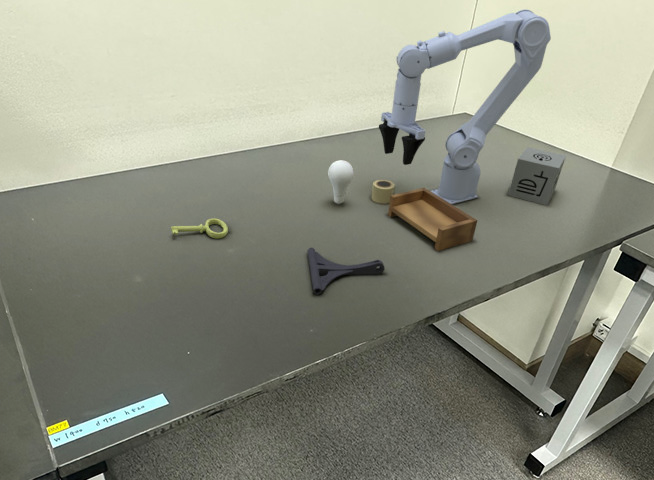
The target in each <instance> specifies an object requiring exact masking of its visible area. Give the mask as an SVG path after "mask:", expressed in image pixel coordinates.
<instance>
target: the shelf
mask: <svg viewBox="0 0 654 480" xmlns="http://www.w3.org/2000/svg"><path fill="white" fill-rule="evenodd" d="M431 191H432V190H429V189H427V188H426V187H421V188H417V189H412V190H407V191H403V192H400V193H394V194H393V195H391V196H390V203H388V204H389V205H388V211H387V216H388V217H390V218H393V217H397V216H398V217H399V218H401V219H402V220H403V221H405V222H406V223H408V224H409V225H411V226H412V227H413V228H414V229H416V230H418V231H419V232H420V233H422V234H423V235H425V236H426V237H427V238H429V239H430V240H432V241H433V242H434V243H435V244H434V250H436V252H440V251H443V250H446V249H450V248H453V247H457V246H460V245H463V244H467V243H470V242H473V241H474V237H475V233H476V229H477V224H478V219H477V218H475V217H474V216H471V215H470V214H468V213H466V212H465V211H463V210H462V209H460V208H458V207H457V206H455V205H454V204H450V203H449V202H447V201H445V200H444V199H442V198H440V197H439V196H437V195H435V194H434V193H432V192H431Z"/></svg>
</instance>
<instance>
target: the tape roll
mask: <svg viewBox="0 0 654 480" xmlns="http://www.w3.org/2000/svg"><path fill="white" fill-rule="evenodd" d="M395 187H396V186H395V183H394V182H393V181H390V180H387V179H377V180H374V181H373V183H372V188H371V197H370V199H371V200H372V201H373V202H375V203H377V204H382V205H384V204H389V203H390V196H391V195H395Z"/></svg>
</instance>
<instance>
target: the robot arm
mask: <svg viewBox="0 0 654 480" xmlns="http://www.w3.org/2000/svg"><path fill="white" fill-rule="evenodd" d="M437 33H438V35H437V36H435V37H431V38H429V39H427V40H424V41H423V40H422V39H420V40H418V41H416V44H407V45H405V46H403V47H402V48H401V50H399V52H398V54H397V56H396V64H397V67H398V69H397V72H396V80H395V84H394V92H393V99H392V100H393V101H392V108H391V112H389V111H385V112H381V115H380V121H381V122H383V123H380V124H378V129H379V132H380V134H381V138H382V143H383V150H384V154H386V155H388V154H389V155H390V154H393V153H394V151H395V146H396V140H397V137H398V134H399V131H400V130H401V131H403V132H404V133H407V134H408V135H403V136H401V141H402V142H401V143H402V147H403V154H402V165H404V166H407V165H412V163H413V161H414V158H415V156H416V154H417V152H418V150H419V149H420V147H421V146H422V144H423V143H424V142H425V140H426V137H425V136H426V129H424V128H422V127H421V125H419V124H418V122H416V117H417V112H418V105H419V99H420V92H421V86H422V82H421V80H422V74H424V72H425V71H426V69H427V70H431V69H432V68H435V67H438V66H440V65H443V64H446V63H450V62H452V61H454V60H457V58H458V57H459V55H460V54H461V52H462V51H466V50H468V49H471V48H476V47H478V46H481V45H484V44H489V43H490V42H494V41H496V40H497V41H498V40H499V41H503V42H506V43H510V44H512V46H513V50H514V60H515V61H514V63H513V64H512V66H511V67H510V68H509V70H508V71H507V72H506V73H505V74H504V76H503V77H502V79H501V80H500V81H499V83H498V84H497V85H496V86H495V87H494V89H493V90H492V91H491V93H490V94H489V95H488V96H487V98H486V99H485V100H484V101H483V103H482V104H481V105H480V107H479V108H478V109H477V111H476V112H475V113H474V114H473V116H472V117H470V120H469V121H467V122H464V123H462V124H461V126H460V127H459V128H458V129H457V130H454V131H453V132H451V133H450V134H449V135H448V137H447V138H446V140H445V149H446V151H447V154H446V156H445V157H444V159H443V163H442V168H441V174H440V180H439V185H438V188H437V189H433V190H430V191H431V192H432V193H434V194H435V195H437V196H439V197H440V198H442V199H444V200H445V201H447V202H449V203H450V204H452V205H455V204H459V203H462V202H466V201H471V200H474V199H477V198H478V195H477V190H478V185H479V182H480V178H481V166H480V165H479V163H478V162H477V160H478V158H479V154H480V152H481V150H482V149H483V148H484V146H485V143H486V138H487V135H488V134H489V133H490V132H491V131H492V129H493V127H494V126H495V125H497V123H498V122H499V120H500V119H501V118H502V116H504V114H505V113H506V112H507V110H508V109H509V108H510V107H511V105H512V104H513V103H514V102H515V101H516V100H517V98H518V97H519V96H520V95H521V93H522V92H523V91H524V90H525V88H526V87H527V86H528V85H529V83H530V82H531V81H532V80H533V79H534V78H535V76H536V74H537V73H538V72H539V71H540V69H541V68H542V65H543V61H544V58H545V54H546V50H547V47H548V44H549V43H550V41H551V38H552V37H551V29H550V25H549V22H548V20H547V19H546V18H545V17H543V16H540V15H538V14H536V13H534V11H532V10H530V9H520V10H518V11H516V12H510V13H507V14H504V15H502V16H500V17H497V18H495V19H493V20H490V21H488V22H485V23H483V24H481V25H478V26H476V27H473V28H472V29H471V28H470V29H469V30H467V31H465V32H462V33H459V34H455V33H453V32H451V31H448V32H445V30H442V31H439V32H437Z"/></svg>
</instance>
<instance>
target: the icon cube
mask: <svg viewBox="0 0 654 480" xmlns="http://www.w3.org/2000/svg"><path fill="white" fill-rule="evenodd" d="M566 158H567V155H566V154H561V153H556V152H551V151H547V150H542V149H538V148H533V147H528V146H527V147H526V148H525V149H524V150H523V152H522V153H521V154H520V156H518V158H517V161H516V164H515V169H514V172H513V175H512V179H511V183H510V187H509V190H508V193H507V196H509V197H513V198H517V199H521V200H525V201H529V202H532V203H536V204H540V205H543V206H548V204H549V202H550V200H551V198H552V196H553V194H554V193H555V191H556V187H557V185H558V181H559V178H560V175H561V173H562V169H563V166H564V163H565V161H566Z"/></svg>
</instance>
